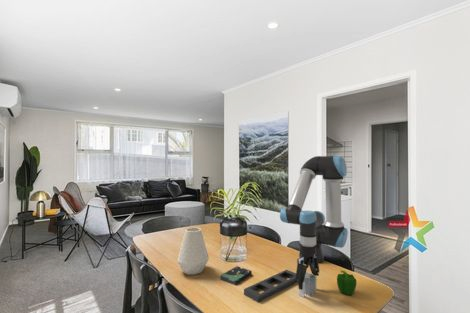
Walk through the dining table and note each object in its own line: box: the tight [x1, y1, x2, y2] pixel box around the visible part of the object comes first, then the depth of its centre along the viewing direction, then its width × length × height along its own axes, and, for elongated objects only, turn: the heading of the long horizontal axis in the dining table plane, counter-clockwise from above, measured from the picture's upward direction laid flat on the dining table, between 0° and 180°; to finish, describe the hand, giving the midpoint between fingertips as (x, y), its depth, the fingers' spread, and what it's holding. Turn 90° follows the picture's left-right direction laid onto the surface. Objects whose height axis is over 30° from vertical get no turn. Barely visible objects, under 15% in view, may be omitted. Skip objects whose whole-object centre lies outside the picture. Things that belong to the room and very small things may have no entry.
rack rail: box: [243, 269, 298, 303], centre depth 128 cm, size 32×9×2 cm, turn 131°
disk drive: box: [220, 265, 253, 286], centre depth 138 cm, size 10×3×15 cm
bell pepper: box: [336, 270, 357, 296], centre depth 123 cm, size 8×8×10 cm
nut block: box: [304, 271, 316, 297], centre depth 122 cm, size 5×5×8 cm
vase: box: [176, 227, 209, 276], centre depth 146 cm, size 18×17×23 cm
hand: (307, 292), depth 122 cm, fingers open, 9 cm apart
